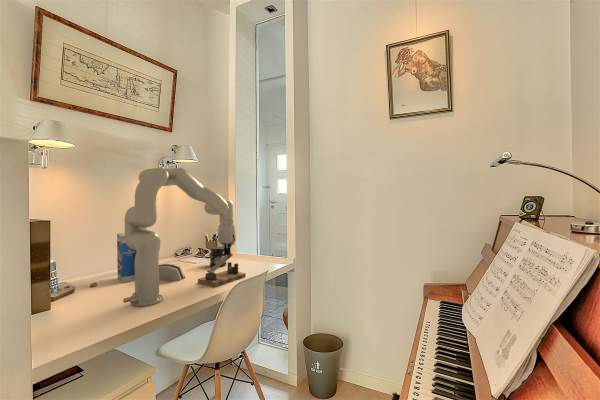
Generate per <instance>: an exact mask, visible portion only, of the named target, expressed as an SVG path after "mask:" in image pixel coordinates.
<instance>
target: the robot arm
mask: <svg viewBox="0 0 600 400" xmlns="http://www.w3.org/2000/svg"><path fill="white" fill-rule="evenodd" d="M166 186H167V187H169V186H177V187H178V188H179V189H180V190H181V191H182V192H184V194H186V195H187V196H188V197H190V198H191V199H192V200H193V199H194V200H195V201H198V202H202V203H205V204H204V206H203V207H204V208H203V209H204V212H205V213H206V214H208V215H212V216H215V215H217V216H219V225H218V228H217V242H218V243H219V244H221V245H222V247H224V255H226V256H227V255H229V254H231V253H232V252H231V248H232V246H234V245H236V244H235V242H236V229H235V224H234V204H233V201H232V200H225V199H224V198H223V197H222V196H221V195H219V194H218V193H216V192H215V191H213V190H212V189H210V188H208V187H206V186H204V185H203V184H202V183H201V182H199V181H198V180H197V179H196V178H195V177H194V176H193V175H192V174H191V173H190V172H189V171H187V170H186V169H184V168H182V167H174V168H173V167H172V168H171V167H170V168H162V167H154V168H153V167H152V168H146V169H143V170H142V171H140V173H139V174H138V184H137V186H136V188H135V190H134V205H133V206H130V208H128V209H127V211H126V212H125V215H124V233H125V241H126V244H127V246H128V247H129V248H131V249H133V250H137V252H136V256H135V281H134V292H132V294H131V296H128V297H124V298H123V299H122V302H123V303H124V304H126V303H130V304H131V305H132V306H134V307H146V306H147V307H149V306H152V305H156V304H159V303H160V302H162V301H163V299H164V295H162V294H160V279H159V265H160V264H159V263H160V261H159V260H160V259H159V258H160V249H161V238H160V236H159V234H158V233H156V232H155V231H153V230H148V229H147V228H151V227H153V226H154V225H155V224H156V223H157V220H158V219H157V217H158V216H157V195H158V192H159V190H160V189H161V188H162V187H166Z"/></svg>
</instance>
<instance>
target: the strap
mask: <svg viewBox="0 0 600 400" xmlns="http://www.w3.org/2000/svg"><path fill="white" fill-rule="evenodd" d="M232 257H233V252H231V254H229V255H226V256H225V257H224V258H223V259H222V260H221V261H219V262H218V263H217V264H216V265H215V266H213V267H212V266H211V268H210V269H207V270H206V273H215V271H217V270H218V269H219V268H221V267H220V266H221V265H222V264H223V263H225V262H226V263H227V261H228V260H229V259H230V258H232Z"/></svg>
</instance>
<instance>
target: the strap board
mask: <svg viewBox="0 0 600 400" xmlns="http://www.w3.org/2000/svg"><path fill="white" fill-rule="evenodd" d="M242 278H246V272H241V271H239V263H237V262H236V263H234V264H233V266H232V262H231V261H228V262H227V270H223V271H221V272H214V273H209V272H206V273H205V276H204V277H199V278H197V283H198V284H202V285H206V286H208V287H209V286H211V287H214V288H217V287H221V286H222V285H225V284H228V283H231V282H234V281H237V280H241V279H242Z"/></svg>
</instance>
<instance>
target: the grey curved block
mask: <svg viewBox="0 0 600 400" xmlns="http://www.w3.org/2000/svg"><path fill="white" fill-rule="evenodd" d="M165 279H166V280H169V281H182V280H183V279H186V275H185V274H184V273H183V270H182V268H181V266H179V264H174V263H160V264H159V280H165Z"/></svg>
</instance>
